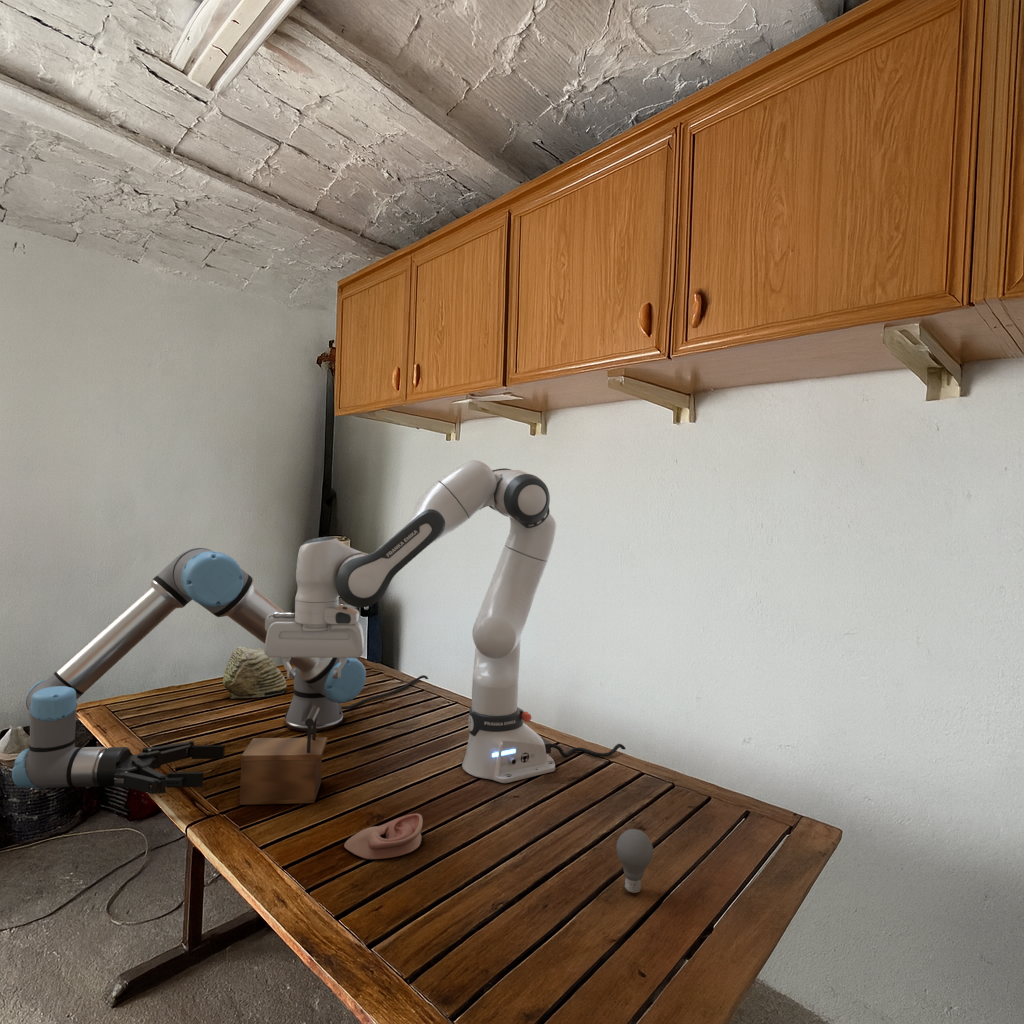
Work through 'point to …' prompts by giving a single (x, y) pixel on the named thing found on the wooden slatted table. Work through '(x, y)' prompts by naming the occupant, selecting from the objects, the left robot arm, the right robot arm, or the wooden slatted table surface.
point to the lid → (288, 745)
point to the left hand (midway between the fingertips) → (214, 764)
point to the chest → (280, 781)
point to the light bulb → (634, 857)
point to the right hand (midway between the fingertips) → (314, 677)
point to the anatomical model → (387, 838)
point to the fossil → (252, 674)
